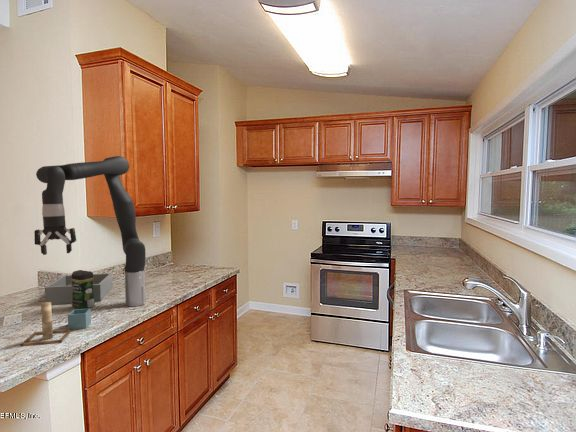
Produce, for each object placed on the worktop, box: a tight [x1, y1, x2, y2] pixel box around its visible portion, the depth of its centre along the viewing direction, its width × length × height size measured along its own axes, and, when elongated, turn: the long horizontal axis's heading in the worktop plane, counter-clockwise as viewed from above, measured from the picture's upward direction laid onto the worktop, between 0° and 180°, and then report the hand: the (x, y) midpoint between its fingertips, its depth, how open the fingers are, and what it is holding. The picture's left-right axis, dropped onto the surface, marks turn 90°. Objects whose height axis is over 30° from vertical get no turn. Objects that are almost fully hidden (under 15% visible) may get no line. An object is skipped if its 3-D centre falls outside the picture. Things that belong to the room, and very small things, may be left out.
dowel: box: [40, 302, 54, 341], centre depth 132 cm, size 3×3×14 cm
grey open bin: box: [44, 273, 114, 306], centre depth 188 cm, size 25×25×9 cm
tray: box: [20, 328, 73, 347], centre depth 132 cm, size 13×11×2 cm
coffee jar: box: [71, 269, 95, 310], centre depth 169 cm, size 10×8×19 cm
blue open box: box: [67, 307, 92, 331], centre depth 144 cm, size 7×7×7 cm
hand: (56, 253), depth 141 cm, fingers open, 8 cm apart
